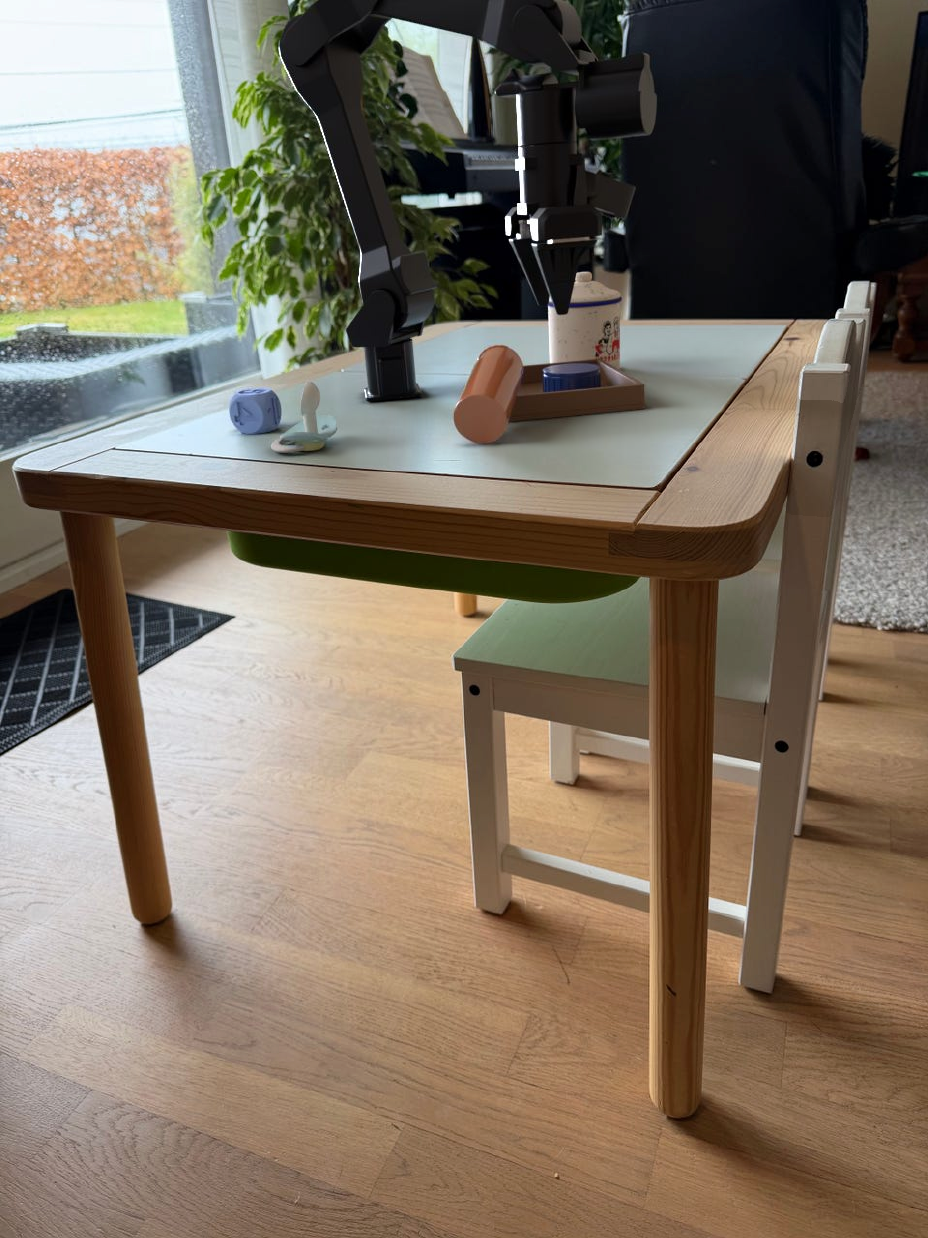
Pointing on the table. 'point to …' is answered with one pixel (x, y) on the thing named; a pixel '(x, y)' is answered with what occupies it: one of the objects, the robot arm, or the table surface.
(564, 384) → the lid
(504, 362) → the jar
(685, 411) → the table surface
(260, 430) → the decorative dice
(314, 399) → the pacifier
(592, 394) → the tray
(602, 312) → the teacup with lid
